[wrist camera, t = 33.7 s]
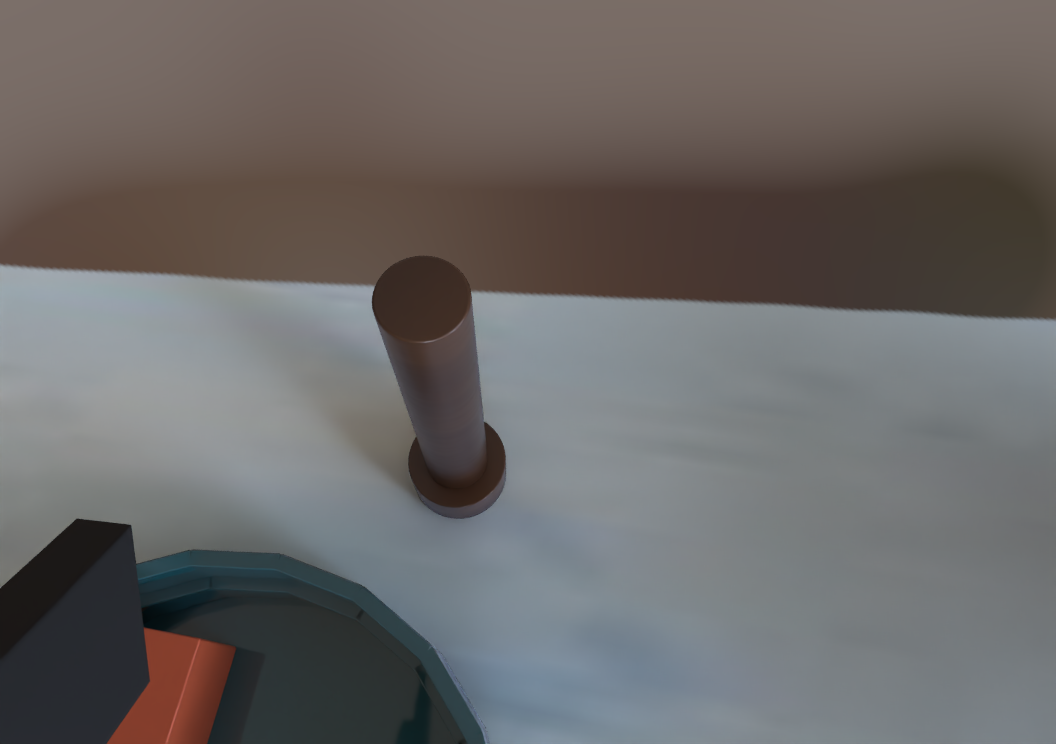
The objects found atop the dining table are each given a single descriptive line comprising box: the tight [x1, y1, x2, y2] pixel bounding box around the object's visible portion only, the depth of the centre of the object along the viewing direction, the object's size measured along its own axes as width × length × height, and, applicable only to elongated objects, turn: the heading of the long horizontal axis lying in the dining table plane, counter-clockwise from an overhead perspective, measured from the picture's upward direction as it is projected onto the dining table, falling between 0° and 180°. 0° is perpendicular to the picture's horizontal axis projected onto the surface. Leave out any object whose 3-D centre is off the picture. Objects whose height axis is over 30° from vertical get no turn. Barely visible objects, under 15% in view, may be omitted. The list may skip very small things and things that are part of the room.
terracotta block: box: [107, 627, 236, 744], centre depth 29 cm, size 4×4×4 cm
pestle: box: [372, 256, 506, 519], centre depth 27 cm, size 4×4×16 cm
